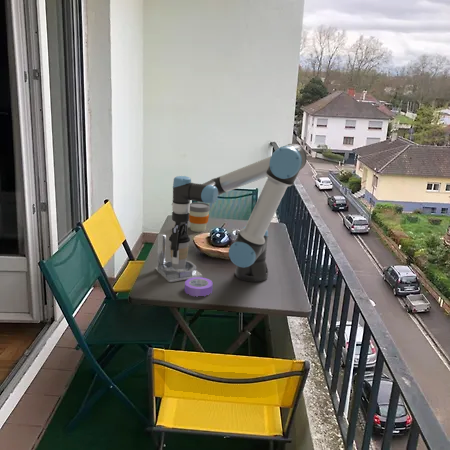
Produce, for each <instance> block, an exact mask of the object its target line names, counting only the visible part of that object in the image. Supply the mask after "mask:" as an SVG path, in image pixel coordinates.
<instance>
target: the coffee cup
mask: <svg viewBox="0 0 450 450" xmlns="http://www.w3.org/2000/svg"><path fill="white" fill-rule="evenodd" d="M168 241H169V244H170V245H169V247H170V248H169V249H170V258H171V260H172V255H173V250H171V241H172V233H171V234H170V235H169V238H168ZM190 241H191V238H190V236H189V235H187V234H182V235H181V237H180V239H179V248H178V250H179V264H173V263H172V267H173V268H174V269H183V268H185V264H186V261H187V258H188V252H189V245H190V244H189V243H190ZM171 260H170V261H171Z"/></svg>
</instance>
